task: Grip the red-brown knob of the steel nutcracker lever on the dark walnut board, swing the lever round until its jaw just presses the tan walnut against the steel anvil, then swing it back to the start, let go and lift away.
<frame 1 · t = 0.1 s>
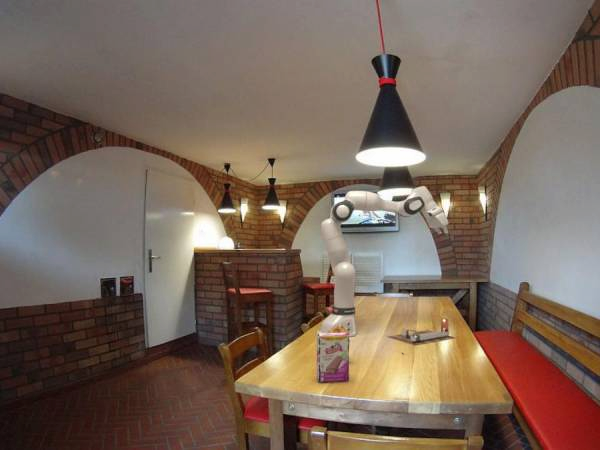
hand: (443, 233, 207), 54 cm above the table, tool tilted 30°, fingers open, 8 cm apart
candy bar box: (332, 380, 134), on the table
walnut: (412, 338, 185), point 1 cm above the table, touching nutcracker base
lever: (430, 329, 183), point 6 cm above the table, hinge at 0.0°
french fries: (337, 362, 154), on the table
nutcracker base: (421, 340, 188), on the table
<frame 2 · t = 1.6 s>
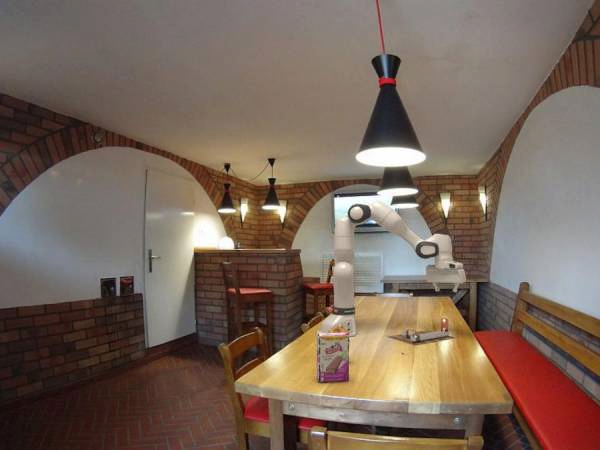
hand: (446, 291, 190), 24 cm above the table, tool pointing down, fingers open, 8 cm apart
nothing on the table moved.
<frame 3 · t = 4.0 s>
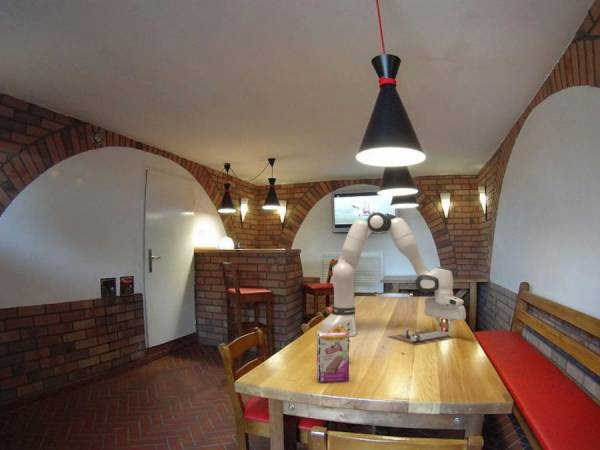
hand: (444, 326, 188), 7 cm above the table, tool pointing down, fingers closed on lever, 4 cm apart
lever: (430, 329, 183), point 6 cm above the table, hinge at 0.0°, touching gripper
everything else where it was.
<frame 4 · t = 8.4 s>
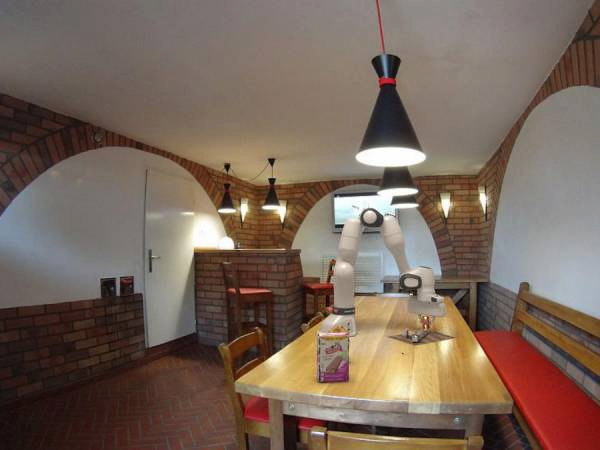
hand: (426, 323, 195), 7 cm above the table, tool pointing down, fingers open, 4 cm apart
lever: (421, 328, 187), point 6 cm above the table, hinge at 29.5°, touching gripper
everything else where it was.
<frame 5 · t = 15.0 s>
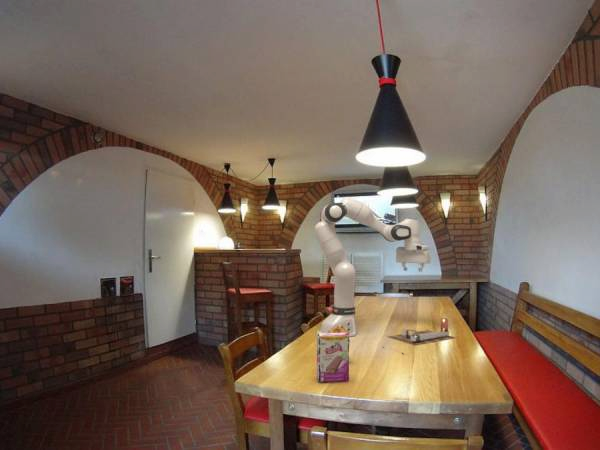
hand: (412, 271, 212), 33 cm above the table, tool pointing down, fingers open, 8 cm apart
lever: (430, 329, 183), point 6 cm above the table, hinge at 0.5°
everything else where it was.
at the end: lever at +0° (first picture: +0°); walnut moved 0.0 cm from its start; the gripper is holding nothing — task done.
